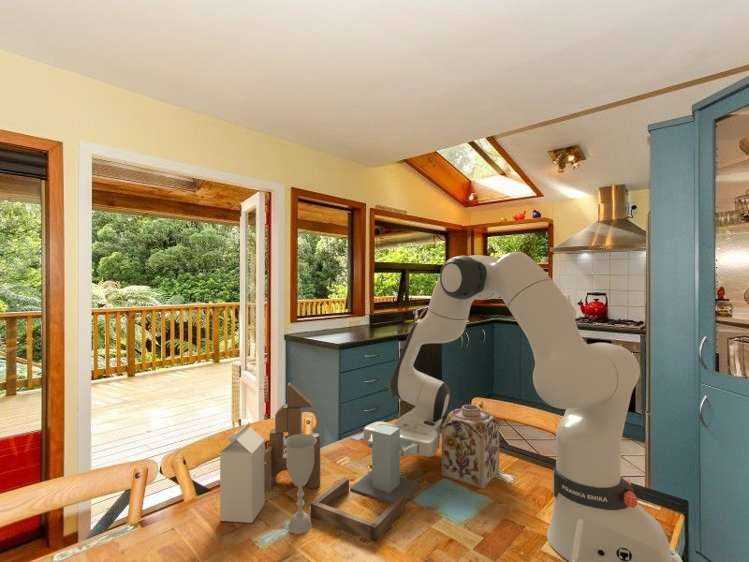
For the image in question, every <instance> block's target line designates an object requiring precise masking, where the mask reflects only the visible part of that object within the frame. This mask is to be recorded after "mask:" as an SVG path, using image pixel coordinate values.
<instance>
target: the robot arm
mask: <svg viewBox="0 0 749 562" xmlns="http://www.w3.org/2000/svg"><path fill="white" fill-rule="evenodd" d="M431 293H432V294H431V297H430V301H429V304H428V308H427V312H426V314H425V316H424V317H423V318H422V319H417V320H416V322H415V323H414V324H413V325H412V327H411V328H410V331H409V332H408V335H407V337H406V340H405V341H404V345H403V347H402V349H401V352H400V355H399V356H398V357H399V358H398V359H397V362H396V365H395V367H394V369H393V371H392V372H391V374H390V376H389V379H388V382H387V385H388V389H389V392H390V395H391V396H392V397H393V398H395V399H398V400H401V401H404V402H406V403H408V404H410V405H412V406H414V407H413V408H412V409H411V410H410V411H408V412H405V414H403V415H402V416H400V417H399V418H398V419H396V421H395V422H394V423H391V422H385V421H381V420H380V421H375V422H373V423H369V424H367V425H365V427H364V428H363V440H364V442H367V448H370V449H372V431H373V430H374V429H376V428H377V427H379V426H381V425H382V424H383V425H388V426H392V427H397V428H400V457H403V458H404V457H405V458H407V457H408V456H412V455H419V456H423V457H426V458H429V457H434V456H435V455H436V454H437V452H438V450H439V449H440V441H441V440H440V435H441V432H440V425H441V423H442V422H443V418H444V417H445V416H446V414H447V412H448V409H449V407H450V403H451V398H452V397H451V393H450V389H449V386H448V384H447V383H446V382H444V381H442V380H440V379H438V378H435V377H433V376H430V375H428V374H426V373H423V372H422V371H421V372H420V371H418V370H417V369H416V368H415V367H414V365H415V361H416V359H417V356H418V355H419V352H420V349H421V347H422V346H423V345H425V344H446V343H450V342H453V341H456V340H457V339H459V338H460V337H461V336H462V335H463V334H464V332H465V329H466V327H467V324H468V320H469V316H470V313H471V312H470V310H471V307H472V305H473V302H474V301H475V300H479V301H485V300H493V299H502V301H503V303H504V304H505V306H506V307H507V309H508V310H509V312H510V313H511V315H512V317H514V319H515V321H516V322H517V324H518V325H519V327H520V329H521V330H522V331H523V333H524V335H525V336H526V338H527V340H528V343H529V345H530V348H531V351H532V354H533V358H534V368H533V371H532V383H533V386H534V389H535V391H536V393H537V395H538V396H539V397H540V399H541V400H542V401H543V402H544V403H546V404H547V405H548V406H550V407H553V408H555V409H561V410H565V412H564V414H563V417H562V419H560V421H559V423H558V425H557V428H556V438H555V439H556V441H555V442H556V444H555V446H556V447H555V448H556V454H555V456H556V457H555V458H556V460H555V461H556V463H555V464H554V468H553V472H552V474H553V475H552V491H553V495H554V502H553V509H552V515H551V519H550V523H549V525H548V528H547V531H546V537H547V541H548V542H549V544H550V546H551V548H552V549H554V550H555V551H556V552H557V554H559V555H560V556H561V557H562V558H564V559H565V560H567V561H568V562H684V561H683V560H682V557H681V556H680V555H679V554H678V552H677V551H676V550H675V549H674V548H673V547H671V546H672V545H671V546H670V543H669V539H668V537H667V535H666V531H665V530H664V528H663V526H662V524H660V522H659V520H657V519H656V518H654V517H653V516H652V515H650V513H648V512H647V511H646V510H645V509H643V507H642V506H640V505H639V504H638V498H637V495H636V494H635V493H634V487H633V486H632V483H631V481H630V478H627V480H625V479H624V478H623V477H622V476H621V474H622V473H621V472H622V471H621V470H622V469H621V468H622V439H623V433H624V428H625V423H626V419H627V415H628V410H629V408H630V407H629V406H630V404H631V403H630V402H631V397H632V394H633V391H634V389H635V387H636V385H637V382H638V381H639V379H640V375H641V368H640V367H641V366H640V363H639V361H638V358H636V357H635V355H634V353H632V352H631V351H630V350H629V349H628V348H626V347H623V346H621V345H618V344H614V343H608V342H595V343H587V342H585V340H584V338H583V336H582V334H581V332H580V330H579V328H578V325H577V322H576V318H577V311H576V309H575V307H574V306H573V304H572V303H571V302H570V300H569V299H568V298H567V297H566V296H565V294H564V293H563V292H562V290H561V289H560V288H559V287H558V285H557V284H556V283H555V282H554V280H553V279H552V278H551V277H550V276H549V274H547V272H546V271H545V270H544V269H543V267H541V266H540V265H539V264H538V262H536V261H535V260H534V259H532V257H531V256H529V255H527V254H526V253H524V252H522V251H511V252H508V253H506V254H504V255H502V256H490V255H480V254H478V255H477V254H476V255H475V254H474V255H458V256H454V257H451V258H449V259H446V261H445V262H444V263H443V265H442V266H441V268H440V273H439V277H438V278H437V280H436V283H435V285H434V288H433V291H432V292H431Z"/></svg>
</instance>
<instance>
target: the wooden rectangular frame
mask: <svg viewBox="0 0 749 562" xmlns="http://www.w3.org/2000/svg"><path fill="white" fill-rule="evenodd" d="M348 492H350V478H348V477H344V478H342V479H341V480H340V481H338V482H337V483H336V484H334V485H333V486H332V487H330V488H329V489H327V490H326V491H325V492H324V493H322V494H321V495H320V496H318V497H317V498H316V499H315V500H313V501H312V502H310V518H312V519H314V520H317V521H319V522H322V523H325V524H327V525H329V526H332V527H334V528H336V529H340V530H342V531H345V532H347V533H349V534H352V535H354V536H357V537H359V538H362V539H364V540H367V541H370V542H372V543H375V544H376V543H377V542H378V541H379V540H380V538H381V537H382V536H383V535H384V534H385V533H386V531H388V529H389V528H390V527H391V526H392V525H393V523H394V522H395V521H397V519H398V518H399V517H400V516H401V515H402V514H403V513H404V512H405V510H406V502H405V496H402V495H400V496H399V497H398V498H397V499H396V500H395V501H394V502H393V503H392V504H391V503H390V505H389V506H388V507H386V509H385V510H384V511H383V512H382V513H381V514H380V515H379V516H378V517H377V518H376V519H375V520H374V521H373V522H372V521H370V520H366V519H365V518H362V517H359V516H356V515H354V514H351V513H349V512H345V511H343V510H340V509H338V508H335V507H332V505H334V504H335V503H336V502H337V501H339V500H340V499H341V498H342V497H344V496H345V495H346V494H347V493H348Z"/></svg>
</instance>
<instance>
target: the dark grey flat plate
mask: <svg viewBox="0 0 749 562" xmlns="http://www.w3.org/2000/svg"><path fill="white" fill-rule="evenodd" d="M421 486H422V483H421V482H418V481H415V480H412V479H408V478H405V477H401V476H400V484H399V485H398V486H397V487H396V488H395V489H394V490H393V491H392V492H391V493H388V492H385V491H382V490H379V489H376V488H372V470H371V471H370V472H368V473H367V474H365V475H364V476H363V477H362V478H361V479H359V480H358V481H357V482H356V483H354V484H353V485H352V486H351V487H349V491H352V492H354V493H357V494H361V495H363V496H367V497H370V498H373V499H376V500H379V501H381V502H385V503H387V504H390V505H391V504H392V503H393V502H394V501H395V500H396V499H397V498H398V497H399V496H400V495H402V496H405V503H406V502H407V501H408V500H409V499H410V498H411V497H412V495H414V494H415V492H417V490H418V489H419V488H420V487H421Z"/></svg>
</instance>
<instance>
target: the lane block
mask: <svg viewBox="0 0 749 562" xmlns="http://www.w3.org/2000/svg"><path fill="white" fill-rule="evenodd" d="M371 450H372V452H371V454H372V456H371V459H372V460H371V463H372V464H371V467H372V469H371V471H372V488H376V489H379V490H382V491H385V492H388V493H391V492H392V491H393V490H394V489H395V488H396V487H397V486H398V485H399V484H400V477H401V475H400V474H401V470H400V469H401V468H400V467H401V466H400V464H401V463H400V462H401V455H400V454H401V452H400V451H401V450H400V428H397V427H392V426H388V425H383V424H382V425H381V426H379V427H377V428H376V429H374V430H373V431H372V448H371Z"/></svg>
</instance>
